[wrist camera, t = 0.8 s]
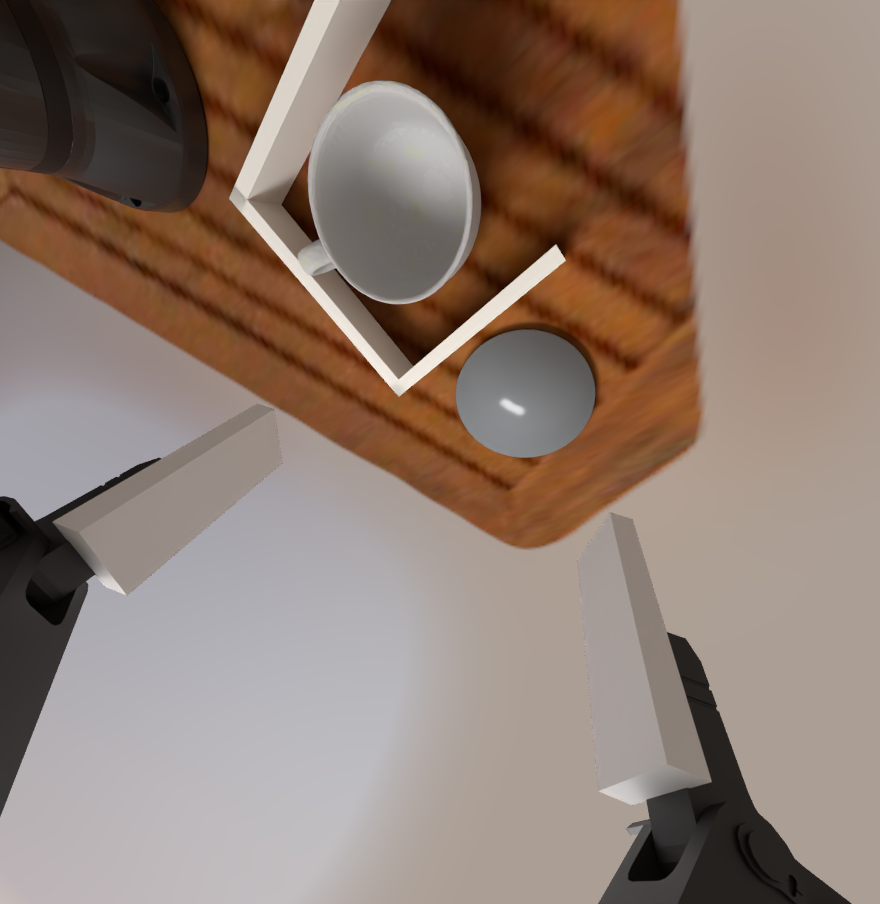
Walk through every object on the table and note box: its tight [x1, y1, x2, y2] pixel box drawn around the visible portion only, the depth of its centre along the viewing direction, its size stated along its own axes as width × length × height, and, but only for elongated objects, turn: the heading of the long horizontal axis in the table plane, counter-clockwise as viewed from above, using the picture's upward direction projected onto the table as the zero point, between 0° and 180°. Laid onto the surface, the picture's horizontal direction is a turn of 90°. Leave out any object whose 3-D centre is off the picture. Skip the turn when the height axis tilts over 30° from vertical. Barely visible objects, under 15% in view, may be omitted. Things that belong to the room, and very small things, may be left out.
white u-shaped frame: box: [229, 0, 566, 396], centre depth 25 cm, size 20×17×4 cm
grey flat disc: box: [456, 329, 595, 457], centre depth 31 cm, size 13×13×1 cm
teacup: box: [297, 80, 481, 304], centre depth 23 cm, size 14×11×8 cm
